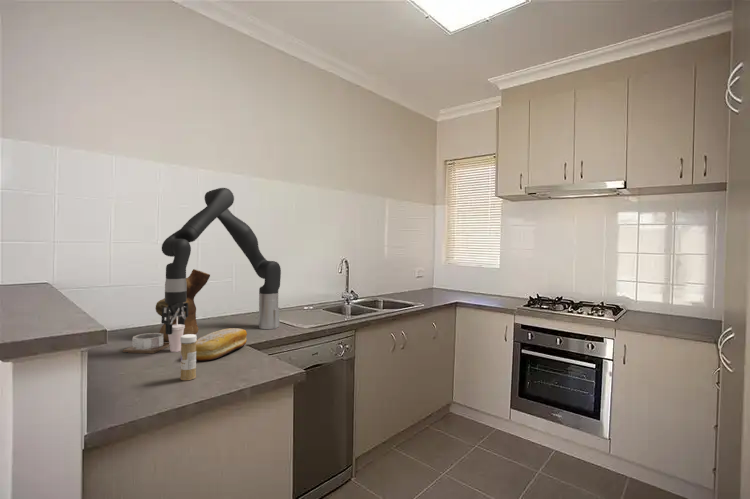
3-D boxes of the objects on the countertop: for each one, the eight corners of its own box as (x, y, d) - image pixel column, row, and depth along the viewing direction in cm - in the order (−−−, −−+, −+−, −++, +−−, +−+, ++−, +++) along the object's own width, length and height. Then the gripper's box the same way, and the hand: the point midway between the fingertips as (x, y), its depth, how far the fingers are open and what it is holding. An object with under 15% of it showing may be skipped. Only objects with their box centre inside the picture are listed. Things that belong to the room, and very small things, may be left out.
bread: (252, 344, 161) (253, 325, 161) (215, 364, 135) (215, 341, 135) (223, 342, 164) (223, 324, 164) (181, 361, 138) (181, 339, 138)
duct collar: (171, 345, 158) (171, 332, 158) (153, 353, 146) (153, 340, 146) (143, 344, 159) (143, 332, 159) (122, 352, 147) (122, 339, 147)
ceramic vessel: (156, 335, 174) (156, 268, 174) (208, 330, 184) (209, 267, 184) (154, 343, 160) (154, 271, 160) (211, 338, 170) (211, 270, 170)
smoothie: (188, 349, 152) (188, 313, 152) (175, 353, 146) (175, 316, 146) (175, 347, 155) (176, 312, 154) (162, 351, 149) (162, 315, 148)
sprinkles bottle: (177, 378, 120) (177, 335, 120) (192, 374, 124) (192, 332, 123) (184, 382, 117) (184, 337, 117) (199, 378, 121) (199, 335, 120)
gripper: (174, 292, 143) (174, 336, 143) (194, 288, 157) (194, 328, 157) (155, 292, 143) (154, 335, 143) (176, 287, 157) (176, 327, 158)
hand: (175, 331), depth 150 cm, fingers open, 8 cm apart
